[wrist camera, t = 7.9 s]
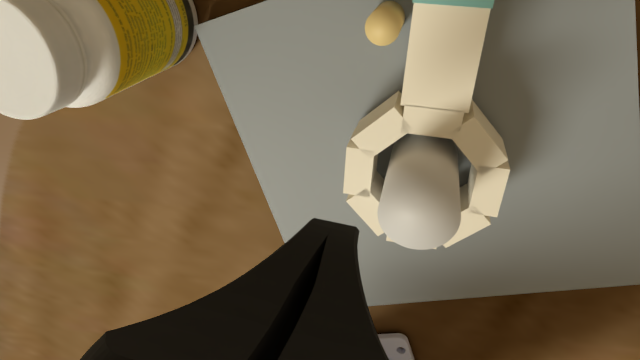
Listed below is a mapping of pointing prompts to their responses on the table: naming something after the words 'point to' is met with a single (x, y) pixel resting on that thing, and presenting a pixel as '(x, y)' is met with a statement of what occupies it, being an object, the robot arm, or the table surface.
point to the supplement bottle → (86, 49)
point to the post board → (516, 91)
